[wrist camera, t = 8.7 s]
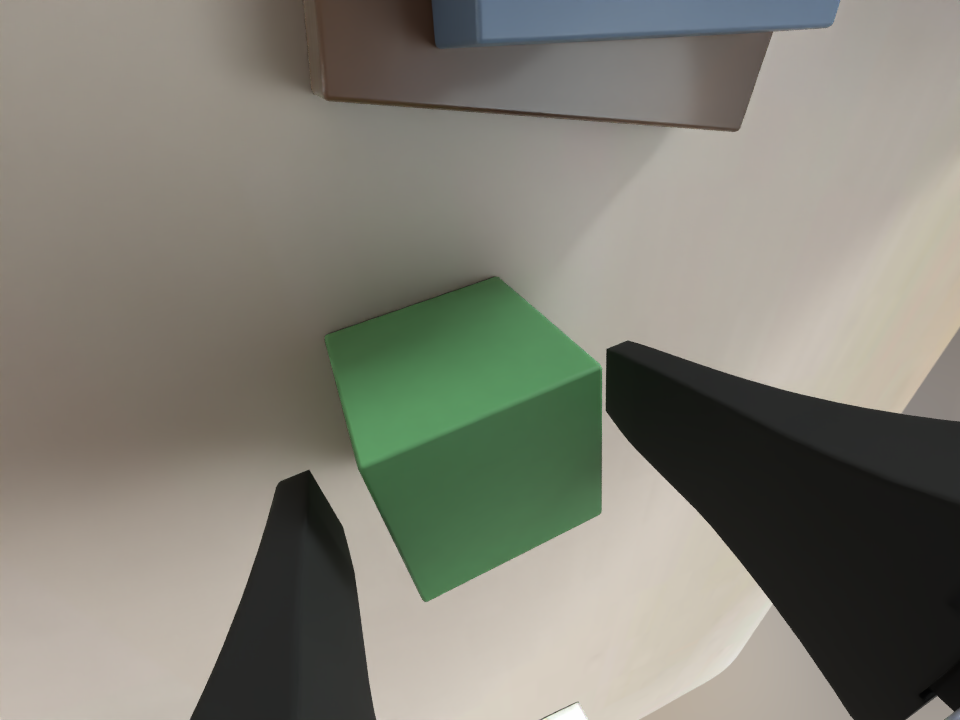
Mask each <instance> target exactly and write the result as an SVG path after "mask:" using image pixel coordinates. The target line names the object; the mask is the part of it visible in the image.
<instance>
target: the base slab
mask: <svg viewBox="0 0 960 720" xmlns="http://www.w3.org/2000/svg"><path fill="white" fill-rule="evenodd" d="M303 5H304V16H305V27H306V37H307V48H308V59H309V69H310V80H311V90H312V92H313V94H315V95H317V96H319V97H321V98H323V99H325V100H327V101H334V102H347V103H360V104H374V105H387V106H400V107H413V108H426V109H439V110H453V111H466V112H479V113H492V114H505V115H519V116H532V117H545V118H558V119H571V120H584V121H598V122H611V123H624V124H637V125H650V126H664V127H677V128H690V129H703V130H716V131H729V132H735V131H738V130H739V129H740V127H741V124H742V121H743V118H744V116H745V113H746V110H747V107H748V104H749V101H750V98H751V95H752V92H753V89H754V86H755V83H756V80H757V77H758V74H759V71H760V68H761V65H762V62H763V60H764V57H765V54H766V51H767V48H768V45H769V42H770V39H771V36H772V33H773V32H759V33H744V34H724V35H704V36H685V37H665V38H645V39H625V40H605V41H585V42H565V43H545V44H525V45H505V46H486V47H466V48H446V49H440V48H438V47H437V46H436V44H435V35H434V23H433V11H432V0H303Z"/></svg>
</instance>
